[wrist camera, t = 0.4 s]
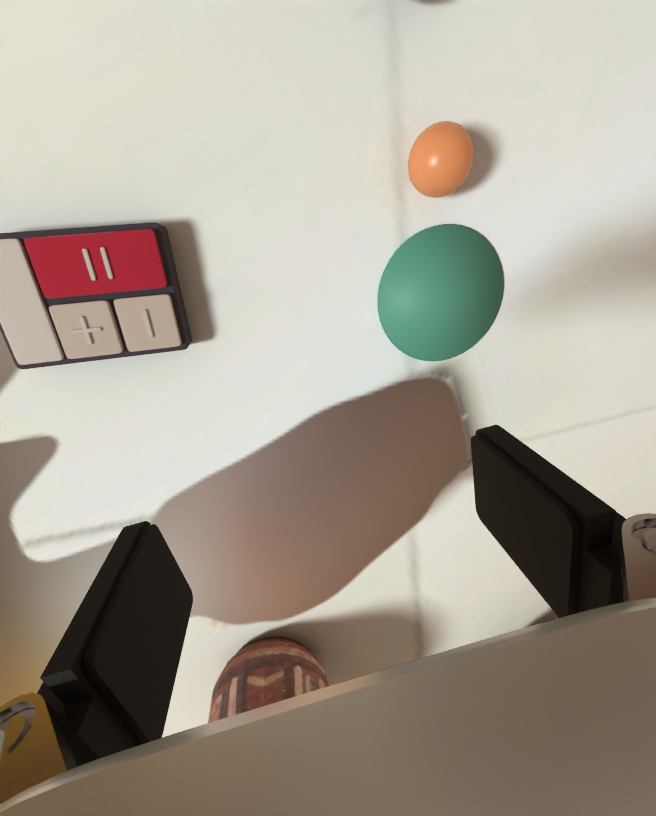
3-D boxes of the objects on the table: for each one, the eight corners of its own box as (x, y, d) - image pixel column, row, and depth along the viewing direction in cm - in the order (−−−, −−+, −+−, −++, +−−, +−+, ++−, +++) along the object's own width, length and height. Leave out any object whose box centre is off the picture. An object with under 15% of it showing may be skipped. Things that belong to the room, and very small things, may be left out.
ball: (395, 141, 33) (417, 119, 28) (452, 127, 33) (485, 103, 28) (404, 207, 35) (426, 199, 30) (457, 194, 36) (488, 183, 30)
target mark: (366, 243, 36) (366, 243, 36) (499, 209, 37) (501, 209, 36) (389, 374, 42) (389, 374, 41) (504, 343, 42) (505, 343, 42)
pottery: (264, 714, 61) (263, 880, 45) (187, 668, 55) (153, 845, 38) (348, 658, 59) (379, 811, 43) (279, 604, 53) (284, 761, 36)
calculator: (187, 351, 34) (11, 372, 32) (194, 342, 38) (37, 360, 36) (157, 220, 30) (-49, 235, 28) (167, 225, 34) (-12, 238, 32)
